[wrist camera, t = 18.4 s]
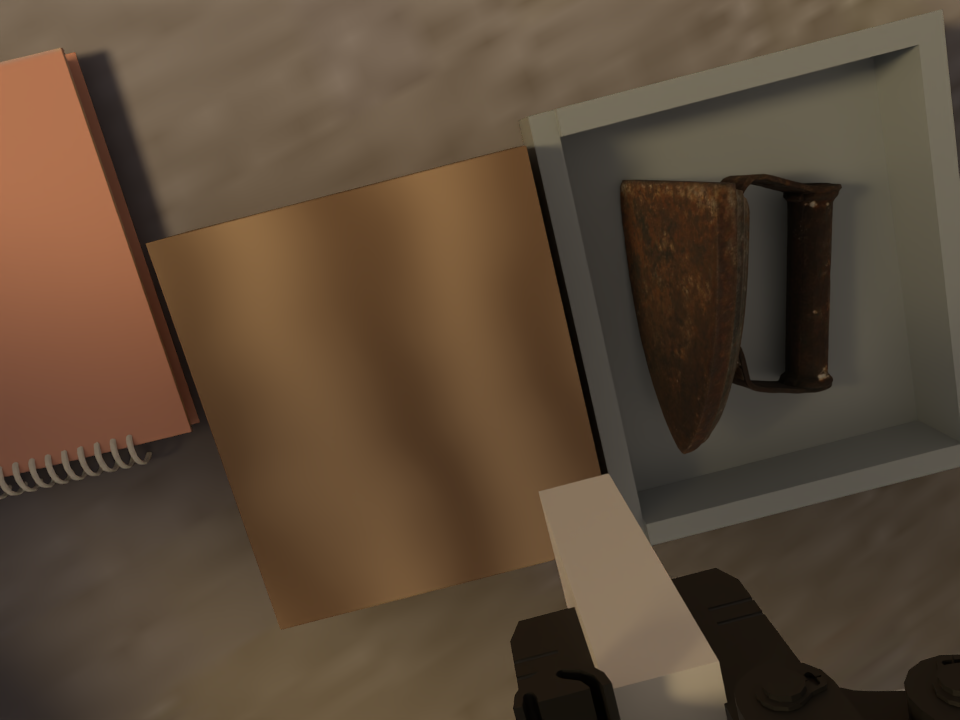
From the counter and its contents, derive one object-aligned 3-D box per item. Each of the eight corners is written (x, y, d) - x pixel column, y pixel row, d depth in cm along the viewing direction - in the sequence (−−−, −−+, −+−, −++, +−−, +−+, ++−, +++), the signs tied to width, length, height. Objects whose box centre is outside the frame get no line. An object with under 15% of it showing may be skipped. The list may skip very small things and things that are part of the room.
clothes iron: (606, 161, 33) (794, 185, 37) (573, 428, 35) (754, 424, 39) (719, 160, 27) (930, 189, 31) (671, 486, 29) (874, 473, 33)
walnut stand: (300, 569, 38) (280, 629, 33) (186, 232, 34) (145, 243, 29) (593, 494, 38) (617, 543, 33) (512, 147, 34) (526, 145, 29)
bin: (607, 511, 38) (627, 551, 34) (518, 121, 34) (529, 115, 30) (931, 429, 38) (988, 459, 34) (883, 26, 34) (942, 9, 30)
